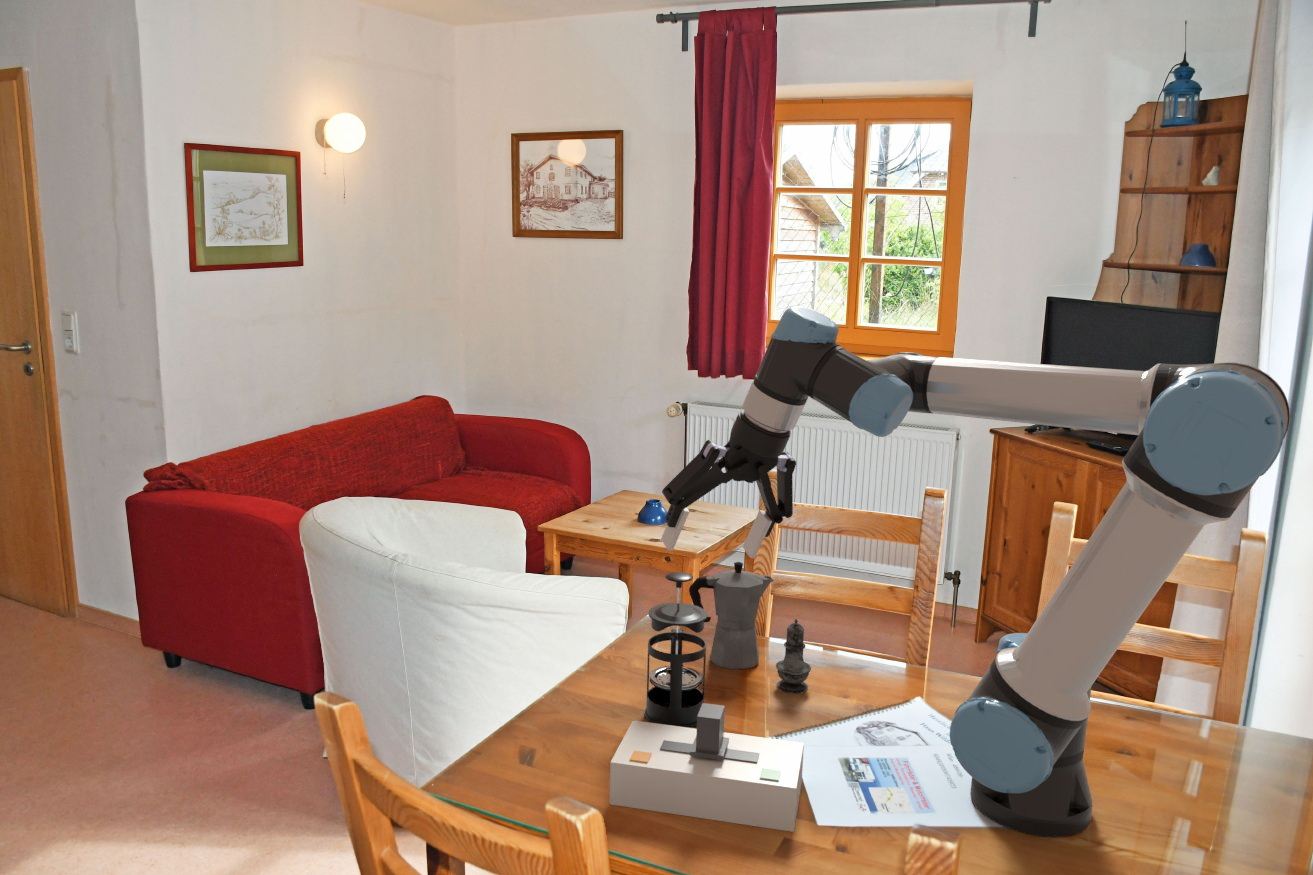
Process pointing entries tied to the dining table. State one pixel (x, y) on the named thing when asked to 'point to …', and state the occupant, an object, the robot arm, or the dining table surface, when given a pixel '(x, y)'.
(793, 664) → the salt shaker
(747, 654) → the coffeepot
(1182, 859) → the dining table surface
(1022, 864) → the dining table surface
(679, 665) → the french press
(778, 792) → the slider switch box
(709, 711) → the grey slider handle
